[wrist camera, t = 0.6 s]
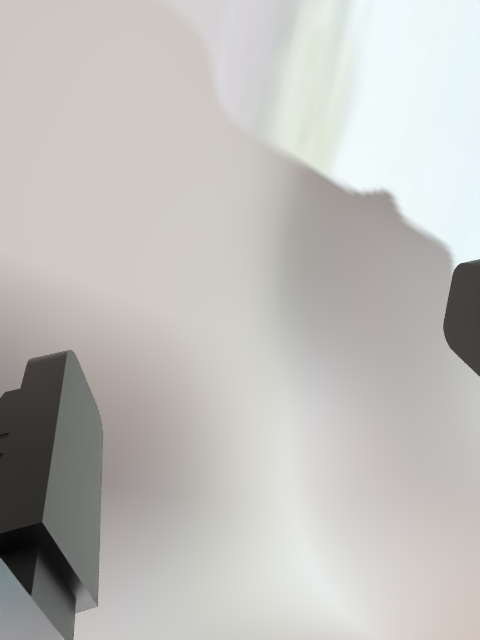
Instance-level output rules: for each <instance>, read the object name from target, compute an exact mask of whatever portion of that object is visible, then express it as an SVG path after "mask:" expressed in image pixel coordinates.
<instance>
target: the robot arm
mask: <svg viewBox="0 0 480 640" xmlns="http://www.w3.org/2000/svg"><path fill="white" fill-rule="evenodd" d="M443 329H444V335H445V338H446V341H447V343H448V345H449V346H450V348H451V349H452V350H453V351H454V352H455V353H456V354H457V355H458V356H459V357H460V358H461V359H462V360H463V361H464V362H465V363H466V364H467V365H468V366H469V367H470V368H471V369H472V370H473V371H474V372H475V373H477V374H478V375H479V376H480V259H479V260H474V261H470V262H465V263H461V264H459V265H458V266H457V267H456V268H455V270H454V272H453V276H452V281H451V287H450V292H449V297H448V303H447V308H446V313H445V319H444V326H443ZM102 448H103V431H102V423H101V419H100V414H99V411H98V408H97V405H96V403H95V400H94V398H93V395H92V393H91V390H90V388H89V386H88V383H87V381H86V379H85V376H84V374H83V371H82V369H81V366H80V364H79V362H78V359H77V357H76V355H75V354H74V352H73V351H71V350H68V351H63V352H59V353H54V354H50V355H45V356H41V357H36V358H32V359H30V360H29V361H28V363H27V366H26V369H25V373H24V377H23V381H22V385H21V388H20V389H17V390H13V391H8V392H5V393H4V394H3V395H2V397H1V398H0V640H73V636H74V622H75V613H78V612H81V611H85V610H88V609H91V608H95V607H97V606H98V580H99V547H100V513H101V481H102Z"/></svg>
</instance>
